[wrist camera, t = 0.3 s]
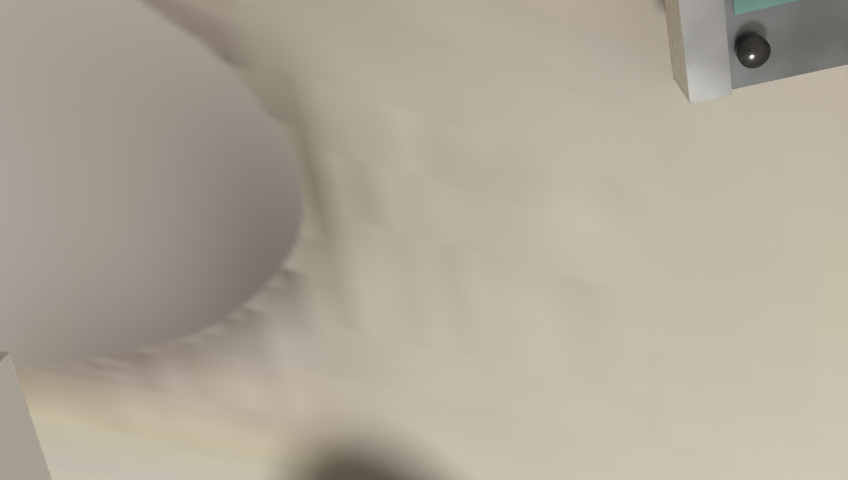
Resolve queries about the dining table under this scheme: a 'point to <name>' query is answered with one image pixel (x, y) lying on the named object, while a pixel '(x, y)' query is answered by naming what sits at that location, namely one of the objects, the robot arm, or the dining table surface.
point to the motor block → (752, 42)
